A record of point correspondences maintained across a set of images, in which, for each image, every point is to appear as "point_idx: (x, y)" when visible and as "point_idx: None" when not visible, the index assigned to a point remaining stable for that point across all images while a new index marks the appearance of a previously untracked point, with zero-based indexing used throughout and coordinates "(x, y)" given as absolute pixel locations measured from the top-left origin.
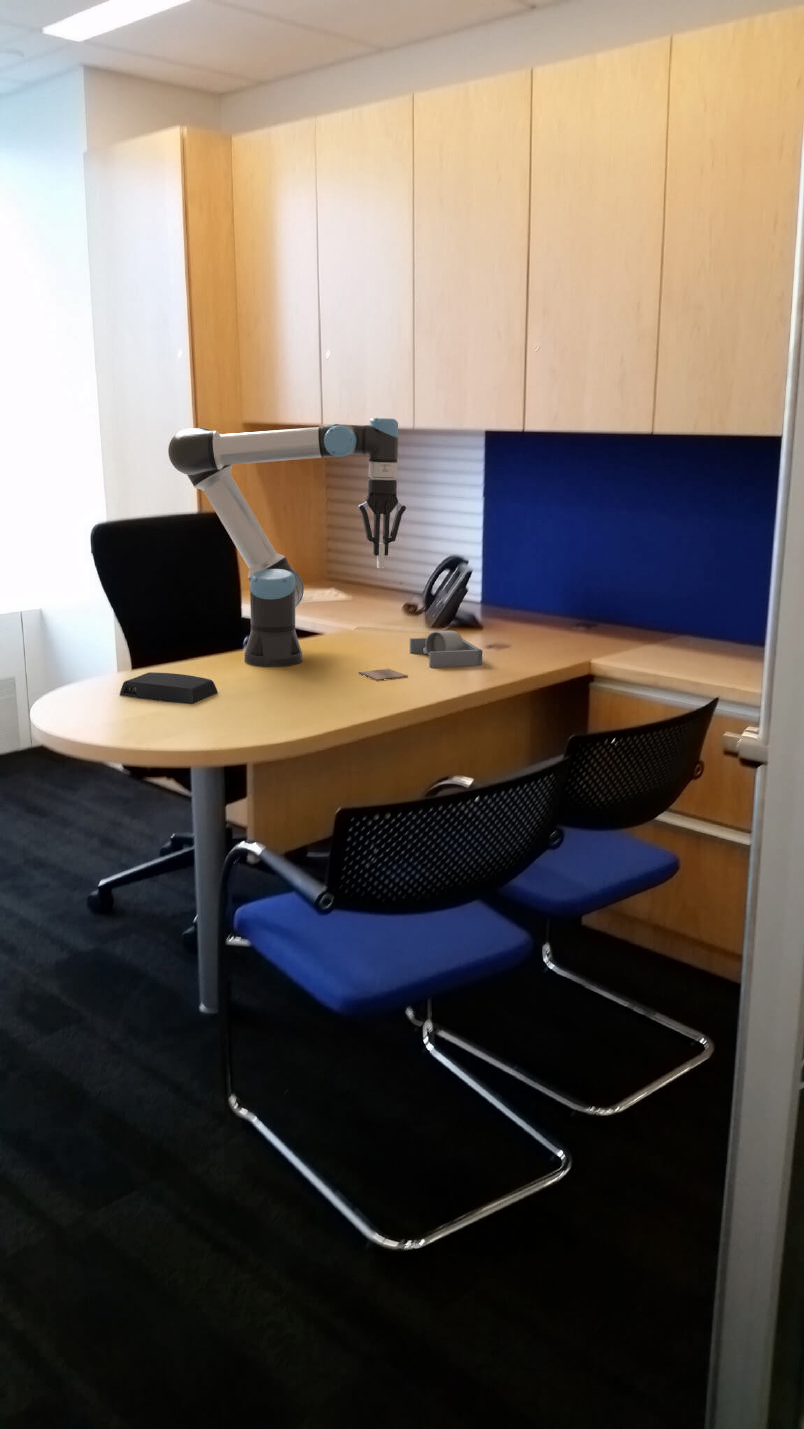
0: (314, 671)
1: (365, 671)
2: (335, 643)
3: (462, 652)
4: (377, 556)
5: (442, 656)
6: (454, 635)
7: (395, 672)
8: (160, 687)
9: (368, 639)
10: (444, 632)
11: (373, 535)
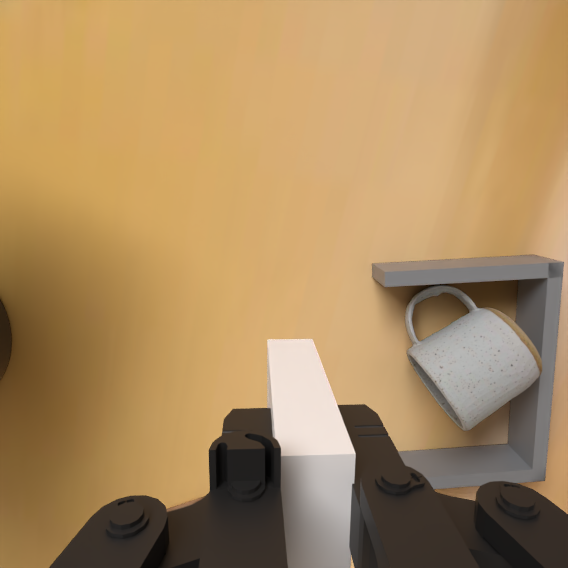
0: (44, 473)
1: (183, 507)
2: (148, 67)
3: (481, 482)
4: (270, 403)
5: None
6: (514, 395)
7: None
8: None
9: (285, 5)
10: (483, 407)
11: (200, 565)
